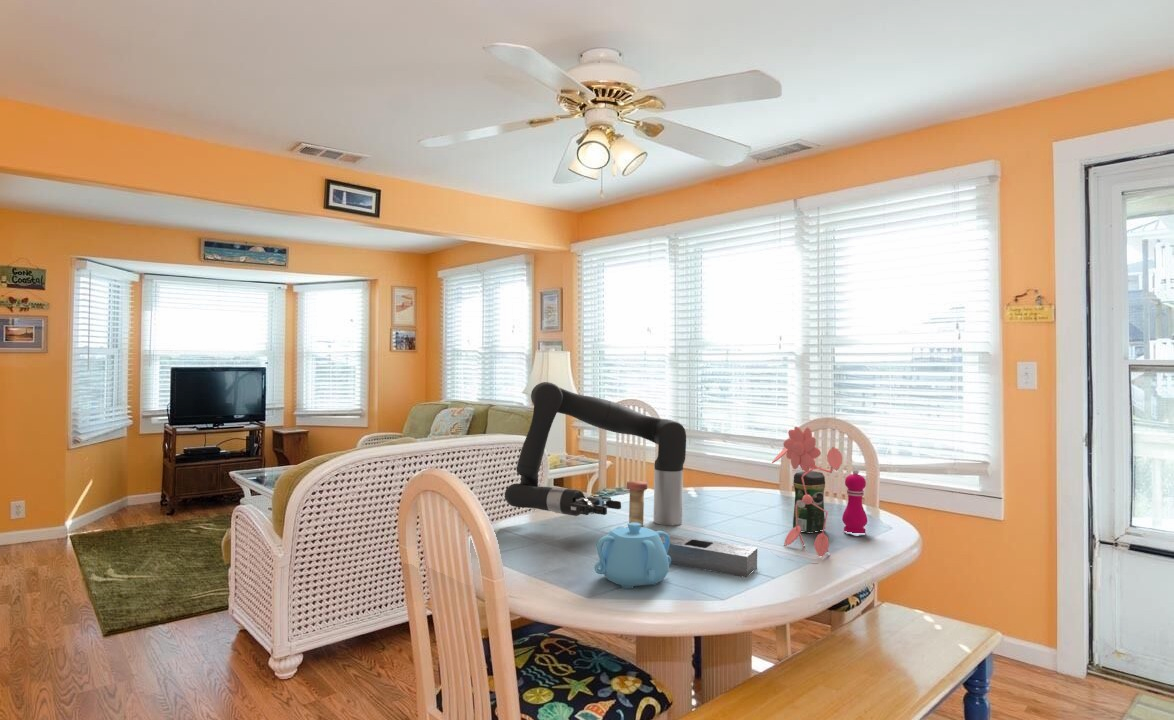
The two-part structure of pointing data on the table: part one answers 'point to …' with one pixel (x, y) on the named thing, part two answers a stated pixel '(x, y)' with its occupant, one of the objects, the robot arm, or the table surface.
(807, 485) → the coffee jar
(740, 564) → the bar
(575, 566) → the table surface
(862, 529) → the pepper mill
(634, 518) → the oak pin
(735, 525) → the table surface
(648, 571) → the decorative pot
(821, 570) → the table surface
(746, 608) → the table surface
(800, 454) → the figurine
